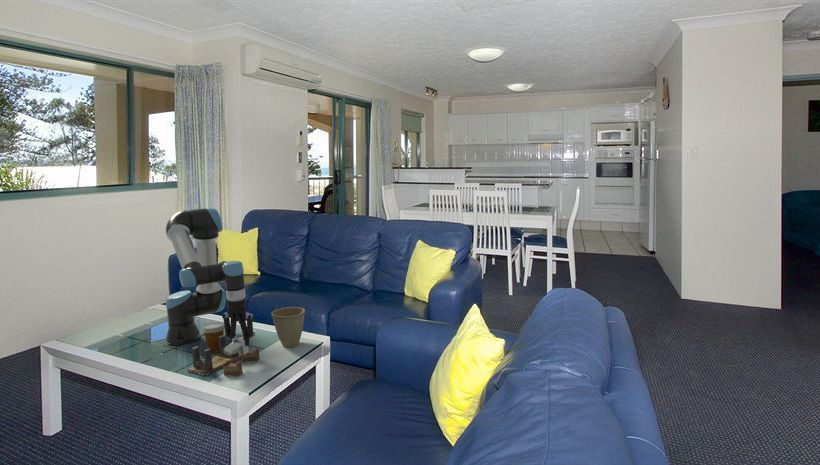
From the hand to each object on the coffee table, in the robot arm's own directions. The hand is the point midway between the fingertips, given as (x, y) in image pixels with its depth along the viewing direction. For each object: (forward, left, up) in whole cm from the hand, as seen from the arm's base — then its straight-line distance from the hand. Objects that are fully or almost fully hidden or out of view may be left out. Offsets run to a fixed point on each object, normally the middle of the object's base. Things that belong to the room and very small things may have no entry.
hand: (241, 352), depth 210 cm
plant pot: (+2, +28, -6) cm, 29 cm away
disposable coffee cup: (-26, +9, -6) cm, 28 cm away
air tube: (0, 0, +2) cm, 2 cm away
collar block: (-13, -2, -6) cm, 14 cm away
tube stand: (0, 0, -6) cm, 6 cm away
